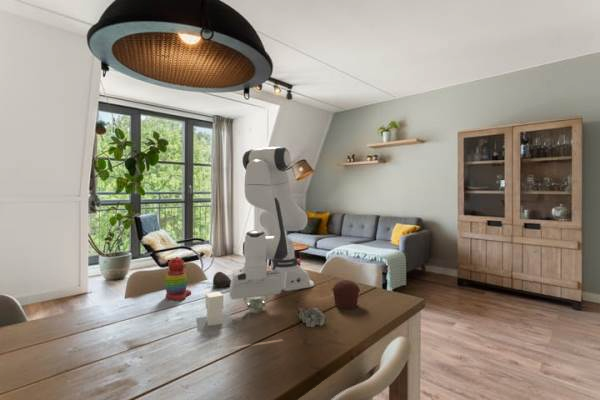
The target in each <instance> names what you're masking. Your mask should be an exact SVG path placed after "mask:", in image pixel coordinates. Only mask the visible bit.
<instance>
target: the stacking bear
mask: <svg viewBox="0 0 600 400" xmlns="http://www.w3.org/2000/svg"><path fill="white" fill-rule="evenodd" d="M167 265H168V270H169V271H167V273H166V276H165V280H164V288H165V291H166V294H165V299H166V300H169V301H173V302H175V301H177V302H178V301H184V300H186V298H187V297H188V296H190V295H191V294H192V291H191V290H189V289H187V285H188V277H187V274H186V271H185V270H184V269H185V267H186V266H187V265H186V262H185V261H184V260H183V259H182V258H181V257H179V256H175V257H173V258H171V259H169V261H168V264H167Z"/></svg>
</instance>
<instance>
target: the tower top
mask: <svg viewBox="0 0 600 400" xmlns="http://www.w3.org/2000/svg"><path fill="white" fill-rule="evenodd" d="M205 309H206V311H207V310H208V311H209V312H212V311H217V310H222V311H223V310H224V295H223V293H221V292H220V291H213V292H208V293H205Z"/></svg>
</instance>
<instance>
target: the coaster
mask: <svg viewBox="0 0 600 400" xmlns="http://www.w3.org/2000/svg"><path fill="white" fill-rule="evenodd" d="M232 320H233V319H232V317H231V314H230V313H228V314H227V313H225V314H222V324H218V325H211V326H208V324H207V316H203V317H196V330H197V333H198V332H206V331H212V330H213V331H214V330H218V329H226V328H234V324H233V321H232Z"/></svg>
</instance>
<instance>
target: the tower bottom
mask: <svg viewBox="0 0 600 400" xmlns="http://www.w3.org/2000/svg"><path fill="white" fill-rule="evenodd" d="M222 315H223V309H222V310H217V311H212V312H209V311H208V310H207V309H206V317H207V324H208V326H211V325H218V324H222Z"/></svg>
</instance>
